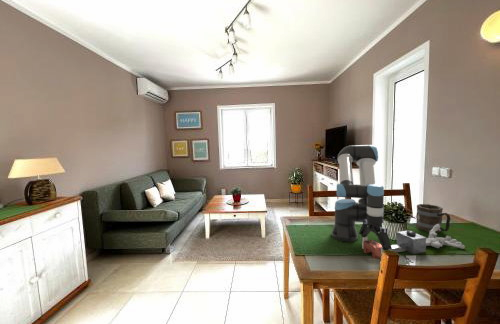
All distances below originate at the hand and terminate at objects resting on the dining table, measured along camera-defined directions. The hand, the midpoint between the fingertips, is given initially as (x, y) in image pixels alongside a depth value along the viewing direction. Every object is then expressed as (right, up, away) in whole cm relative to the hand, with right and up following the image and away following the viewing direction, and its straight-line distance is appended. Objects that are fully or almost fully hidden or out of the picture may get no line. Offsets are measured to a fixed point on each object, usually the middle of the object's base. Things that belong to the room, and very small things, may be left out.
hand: (373, 254), depth 115 cm
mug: (+55, +3, +29) cm, 62 cm away
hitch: (+18, +1, +4) cm, 18 cm away
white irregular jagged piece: (+42, +1, +10) cm, 44 cm away
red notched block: (0, 0, 0) cm, 0 cm away
